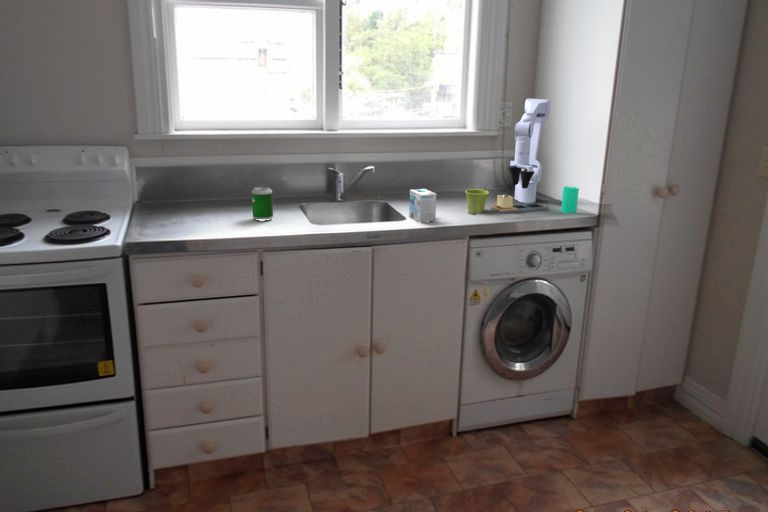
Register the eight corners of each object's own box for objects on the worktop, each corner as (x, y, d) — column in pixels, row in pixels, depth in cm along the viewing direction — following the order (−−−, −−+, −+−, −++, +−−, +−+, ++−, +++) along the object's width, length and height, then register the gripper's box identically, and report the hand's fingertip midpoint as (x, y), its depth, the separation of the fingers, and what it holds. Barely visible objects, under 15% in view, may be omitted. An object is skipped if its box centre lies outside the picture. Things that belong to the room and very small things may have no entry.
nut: (496, 209, 266) (497, 194, 264) (506, 209, 267) (507, 193, 266) (502, 212, 262) (503, 196, 260) (511, 211, 263) (513, 195, 262)
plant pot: (490, 211, 266) (491, 190, 264) (483, 216, 258) (485, 194, 256) (468, 209, 270) (469, 188, 268) (460, 214, 262) (462, 192, 259)
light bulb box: (408, 216, 256) (409, 189, 253) (424, 215, 259) (425, 188, 256) (419, 223, 247) (420, 194, 244) (436, 221, 249) (437, 193, 246)
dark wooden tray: (490, 211, 267) (491, 205, 266) (537, 208, 274) (538, 202, 273) (499, 215, 260) (499, 209, 260) (547, 211, 268) (547, 206, 267)
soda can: (276, 218, 250) (275, 187, 247) (267, 222, 244) (266, 190, 240) (259, 216, 253) (258, 185, 249) (249, 220, 246) (247, 189, 242)
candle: (576, 215, 262) (579, 185, 259) (561, 214, 264) (564, 184, 260) (575, 212, 268) (578, 182, 264) (560, 211, 269) (563, 182, 266)
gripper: (504, 150, 267) (502, 183, 271) (522, 155, 254) (520, 190, 258) (519, 149, 269) (517, 182, 273) (538, 155, 256) (536, 189, 260)
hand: (519, 186), depth 266 cm, fingers open, 7 cm apart
